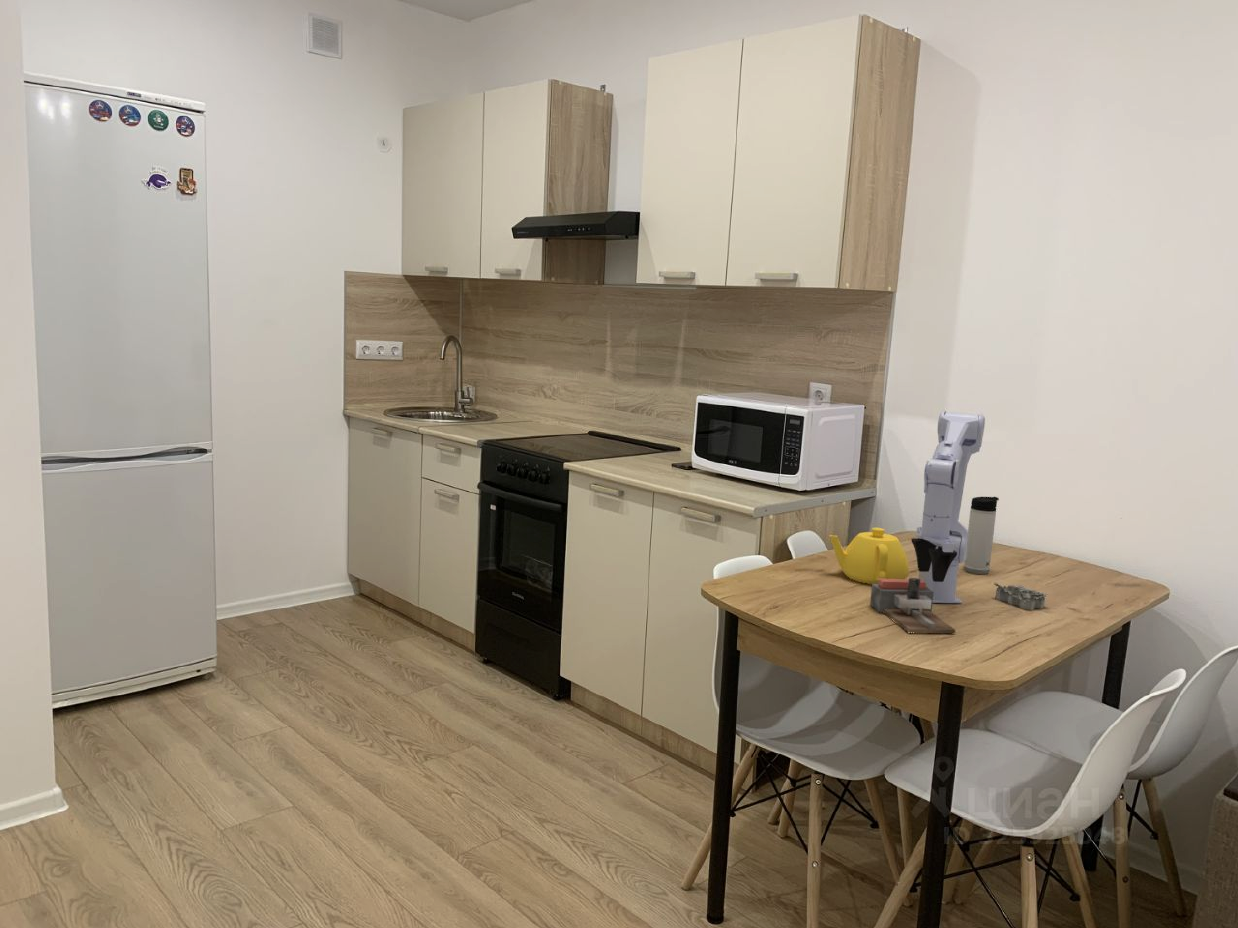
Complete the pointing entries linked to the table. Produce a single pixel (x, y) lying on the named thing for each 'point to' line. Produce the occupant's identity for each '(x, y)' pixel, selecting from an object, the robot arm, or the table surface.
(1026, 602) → the egg carton
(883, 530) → the teapot
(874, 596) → the rail stand
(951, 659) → the table surface
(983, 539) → the travel mug
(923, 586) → the bar
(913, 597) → the carriage
